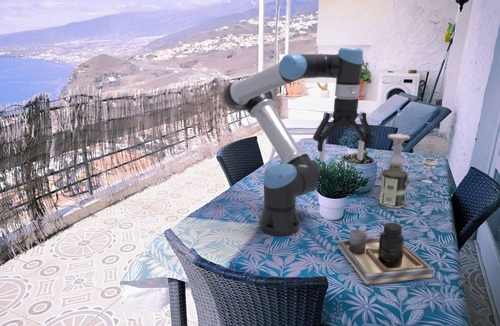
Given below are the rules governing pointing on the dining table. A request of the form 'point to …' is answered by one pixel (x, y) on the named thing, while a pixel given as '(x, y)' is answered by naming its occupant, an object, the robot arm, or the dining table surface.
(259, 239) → the dining table surface
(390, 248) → the supplement bottle
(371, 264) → the board
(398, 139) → the candle holder
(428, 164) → the wineglass
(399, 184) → the coffee can
